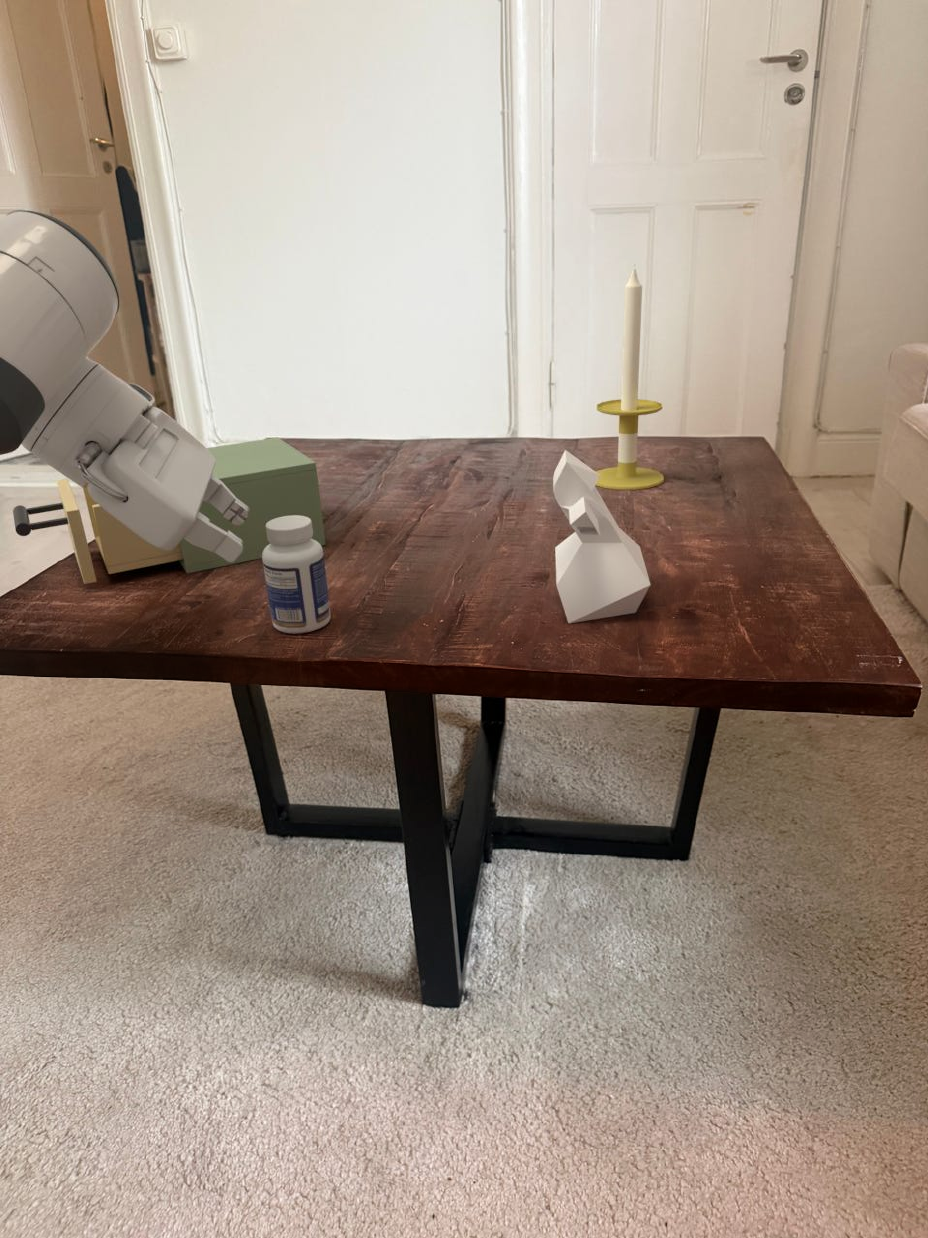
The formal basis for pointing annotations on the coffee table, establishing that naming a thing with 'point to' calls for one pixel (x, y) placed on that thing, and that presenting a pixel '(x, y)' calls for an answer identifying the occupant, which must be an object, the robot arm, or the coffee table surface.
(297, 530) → the pill bottle
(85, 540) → the drawer
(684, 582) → the coffee table surface
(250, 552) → the cabinet
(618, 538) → the faceted knight figurine
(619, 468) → the candle
